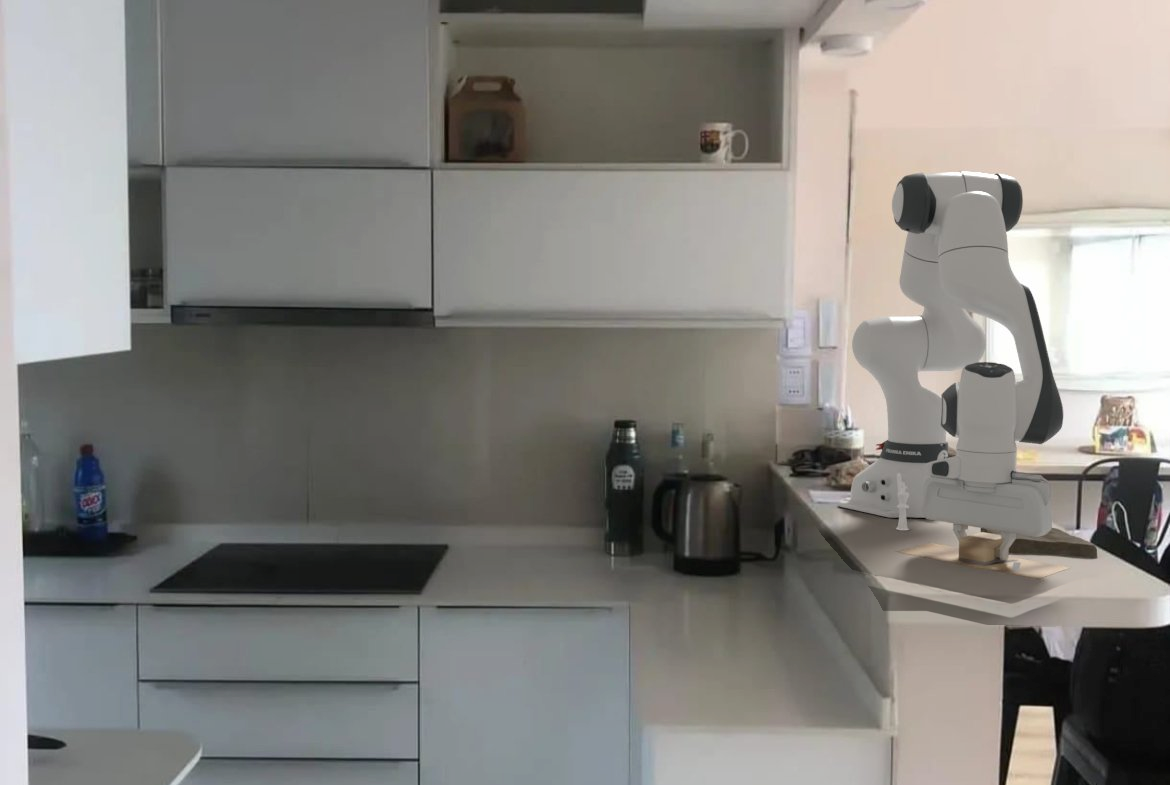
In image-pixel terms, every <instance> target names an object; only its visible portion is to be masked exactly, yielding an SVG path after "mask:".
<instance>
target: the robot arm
mask: <svg viewBox="0 0 1170 785" xmlns="http://www.w3.org/2000/svg"><path fill="white" fill-rule="evenodd" d="M1023 199H1024V198H1023V189H1022V187H1021V185H1020V183H1019V182H1018V180H1017V179H1016V178H1015V177H1013V176H1009V175H1006V174H1002V173H995V174H989V173H982V172H973V171H962V170H961V171H960V170H959V171H957V172H935V173H926V174H925V173H924V172H917V173H912V174H907V175H904V176H903V177H902V178H901V179H900V180H899V181H898V182H897V185H896V188H895V190H894V193H893V196H892V199H891V208H892V209H891V211H892V215H893V219H894V223H895V224H896V226H897V227H899V228H900V230H902V231H905V232H907V235H906V239H905V244H904V251H903V257H902V262H901V267H900V275H899V276H900V277H899V282H898V283H899V286H900V290H901V291H902V294H903V295H904V296H906V298H908V299H909V300H910V301H912V302H914V303H915V304H918V305H920V306H922V307H923V312H922V314H921V315H919V314H918V315H886V316H885V315H884V316H880V317H875V318H874V317H873V318H870V319H866V320H863V321H862V322H860V324H859V325H858V326H857V328H856V329H855V331H854V334H853V337H852V343H851V348H852V349H851V350H852V351H853V353H852V354H853V356H854V359H856V361H857V363H858V364H859V365H860V366H861V367H862V368H863V369H864V370H866V371H867V372H868V373H869V374H870V375H872V376H873V378H874V379H875V380H876V381H877V383H878V385H879V386H880V388H881V390H882V393H883V395H884V398H885V402H886V411H887V440H885V441H883V442H882V443H877V444H875V446H877V448H875V450H876V451H879V450H881V452H880V455H879V458H877V460H876V461H873V463H871V464H870V465H868V466H867V467H865V468H864V469H863V470H861V471H860V472H858V473H857V474H856V475H855V476H854V478H853V480H852V484H851V488H850V494H849V495H850V496H849V497H846V498H842V499H840V500H839V501H838V502H839V503H838V507H841V508H844V509H849V510H855V511H858V512H864V513H867V514H871V515H877V516H881V517H886V518H894V519H895V518H898V519H899V515H900V508H897V505H900V501H899V498H898V495H897V493H898V492H901V488H899V485H902V482H905V486H907V489H905V492H908V493H909V496H908V499H907V502H906V505H908V506H909V508H906V518H924V519H927V520H930V521H936V522H937V521H938V522H941V523H942V522H944V523H948V524H949V523H950V524H952V531H953V533H954V535H955V536H956V537H955V538H956V539H957V541H958V542H959V538H962V537H966V536H968V534H967V532H966V530H968V529H969V527H974V528H980V529H981V528H985V529H991V530H997V531H1001V538H1003V539H1004V538H1005V539H1004V541H1003V543H1002V544H1001V546H999V547H996V548H994V553H995V554H994V558H995V559H999V560H1007V559H1008V557H1009V548H1010V546H1011V545H1012V543H1013V542H1014V540H1015V539H1016V534H1021V535H1027V536H1033V537H1040V536H1044V535H1046V534H1048V533H1049V531H1050V530H1051V529H1052V528H1053V518H1052V517H1053V515H1052V508H1051V498H1052V485H1051V483H1050V482H1049V480H1047V479H1046V478H1044V477H1043V475H1041V474H1038V473H1032V474H1031V473H1026V472H1022V471H1017V456H1018V448H1017V444H1016V442H1019V443H1025V444H1036V445H1043V444H1044V443H1046V442H1048V441H1049V440H1051V439H1052V438H1053V437H1054V436H1056V435H1057V434H1058V433H1059V432H1060V430H1062V427H1063V422H1064V407H1063V406H1064V405H1063V403H1062V399H1061V395H1060V392H1059V389H1058V386H1057V383H1056V379H1055V377H1054V374H1053V370H1052V364H1051V361H1050V357H1049V353H1048V348H1047V344H1046V339H1045V335H1044V331H1043V326H1042V322H1041V319H1040V318H1041V317H1040V314H1039V310H1038V308H1037V304H1036V301H1035V300H1036V299H1035V298H1034V295H1033V294H1032V291H1031V290H1030V288H1029V287H1028V286H1026V285H1025V284H1023V283H1020V281H1019V280H1018V279H1017V277H1016V275H1015V273H1014V272H1013V270H1012V268H1011V265H1010V261H1009V248H1008V247H1009V244H1008V234H1007V232H1010V231H1011V230H1012V229H1013V228H1014V227H1015V226H1016V225H1018V223H1019V220H1020V218H1021V214H1022V211H1023V206H1024V200H1023ZM968 312H970V313H973V314H975V315H976V314H977V315H979V316H982V317H985V318H987V319H991V320H992V321H994V322H996V323H999V324H1001V325H1002V326H1003V327H1005V328H1006V329H1007V330H1008V331H1009V332H1010V334H1011V335H1012V337H1013V340H1014V342H1015V348H1016V351H1017V352H1016V353H1017V357H1018V361H1019V364H1020V366H1019V367H1020V369H1021V374H1022V378H1023V379H1022V380H1020V381H1016V375H1015V371H1014V369H1013V368H1011V367H1010V366H1009V365H1006V364H1003V363H997V362H990V361H986V362H985V361H984V362H983V361H982V362H981V361H980V360H981V359H982V358H983V357H984V354H985V350H986V345H987V344H986V342H987V340H986V335H985V332H984V329H983V327H982V326H981V325H980V324H979V323H978V321H977V320H975V319H974V318H973V317H971V315H970V314H969V313H968ZM959 370H961V375H960V379H959V380H960V381H959V382H958V381H957V382H954V383H952V384H951V385H949V386H948V387H947V388H946V389H945V391H943V393H942V394H941V396H940V395H938V394H937V393H935V392H933V391H932V390H930V389H927V388H925V387H923V386H922V385H921V383H920V381H919V374H918V373H920V372H955V371H959ZM947 433H948V434H949V435H951V437H953V438H957V442H956V447H955V455H949V443H948V441H947Z"/></svg>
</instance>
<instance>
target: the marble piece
mask: <svg viewBox="0 0 1170 785" xmlns="http://www.w3.org/2000/svg"><path fill="white" fill-rule="evenodd" d="M981 532H985V533H991V534H997V535H1001V531H997V530H991V529H985V528H980V533H981ZM1009 553H1013V554H1014V553H1015V554H1016V553H1021V554H1026V553H1027V554H1041V555H1042V554H1043V555H1058V556H1069V557H1070V556H1071V557H1081V558H1093V559H1094V558H1098V548H1097V546H1095V544H1094V543H1092V542H1090V541H1088V540H1085V539H1083V538H1081V537H1078V536H1075V535H1070V534H1069V533H1067V532H1066V531H1063V530H1062V529H1059V528H1055V527H1052V529H1051V530H1050V531H1049V533H1048V534H1046V535H1044V536H1040V537H1033V536H1027V535H1021V534H1016V539H1015V540H1014V542H1013V543H1012V545H1011V546H1010V548H1009Z"/></svg>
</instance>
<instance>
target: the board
mask: <svg viewBox="0 0 1170 785" xmlns="http://www.w3.org/2000/svg"><path fill="white" fill-rule="evenodd" d="M894 552H895V553H898V554H906V555H910V556H916V557H920V558H927V559H931V560H936V561H941V562H947V563H951V564H952V563H953V564H958V565H962V566H969V567H974V568H978V569H985V570H989V571H993V572H1000V573H1005V574H1010V575H1016V576H1020V577H1021V576H1022V577H1026V578H1031V579H1037V580H1039V579H1043V578H1045V577H1049V576H1051V575H1054V574H1058V573H1060V572H1063V571H1066V570H1070V567H1069V566H1062V565H1058V564H1051V563H1046V562H1041V561H1036V560H1029V559H1024V558H1018V557H1013V556H1008V559H1007V560H1001V561H998V562H995V563H991V564H988V565H980V564H974V563H969V562H964V561H959V547H957V546H950V545H945V544H942V543H941V544H940V543H933V542H926V543H922V544H918V545H914V546H910V547H907V548H903V549H900V550H899V549H898V550H895V551H894Z"/></svg>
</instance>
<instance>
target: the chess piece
mask: <svg viewBox="0 0 1170 785" xmlns="http://www.w3.org/2000/svg"><path fill="white" fill-rule="evenodd" d="M899 488H901V492H898V493H897V495H898V498H899V501H900V505H897V508H900V515H899V518H898V523H897V524H898V525H897V527H896V528H895V529H896V531H901V532H906V531H909V530H910V528H909V527H908V522H907V520H908V519H907V517H906V508H909V506H908V505H906V502H907V499H908V496H909V493H908V492H905V489H907V486H905V482H902V485H899Z"/></svg>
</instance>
